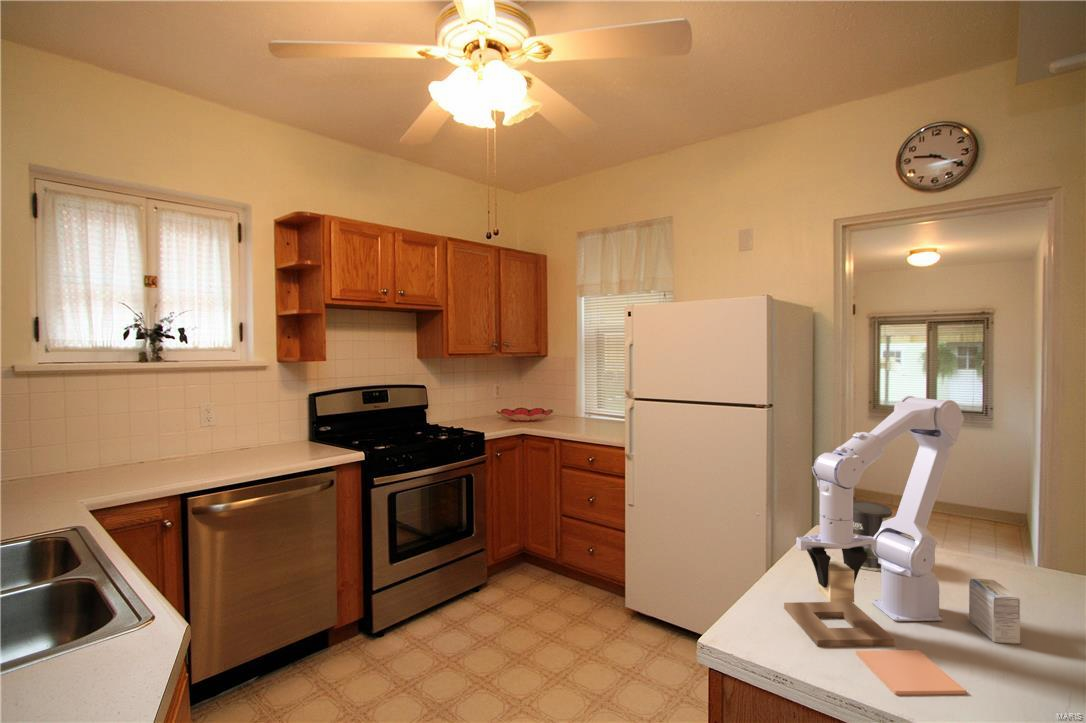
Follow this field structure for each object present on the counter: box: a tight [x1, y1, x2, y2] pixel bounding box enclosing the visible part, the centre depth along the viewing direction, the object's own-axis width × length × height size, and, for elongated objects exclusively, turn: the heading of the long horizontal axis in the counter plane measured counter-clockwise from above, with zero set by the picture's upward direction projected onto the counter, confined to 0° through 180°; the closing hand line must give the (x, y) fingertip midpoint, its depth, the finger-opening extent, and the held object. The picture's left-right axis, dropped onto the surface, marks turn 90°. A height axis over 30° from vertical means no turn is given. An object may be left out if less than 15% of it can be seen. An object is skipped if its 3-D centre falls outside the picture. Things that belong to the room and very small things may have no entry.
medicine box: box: [968, 578, 1021, 645], centre depth 102 cm, size 8×4×9 cm, turn 168°
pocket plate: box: [783, 601, 896, 647], centre depth 106 cm, size 14×14×1 cm
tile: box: [855, 649, 967, 696], centre depth 90 cm, size 11×11×1 cm
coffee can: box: [853, 500, 893, 572], centre depth 134 cm, size 10×10×14 cm
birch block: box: [818, 560, 855, 603], centre depth 105 cm, size 4×4×6 cm
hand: (836, 585), depth 105 cm, fingers closed on birch block, 4 cm apart
